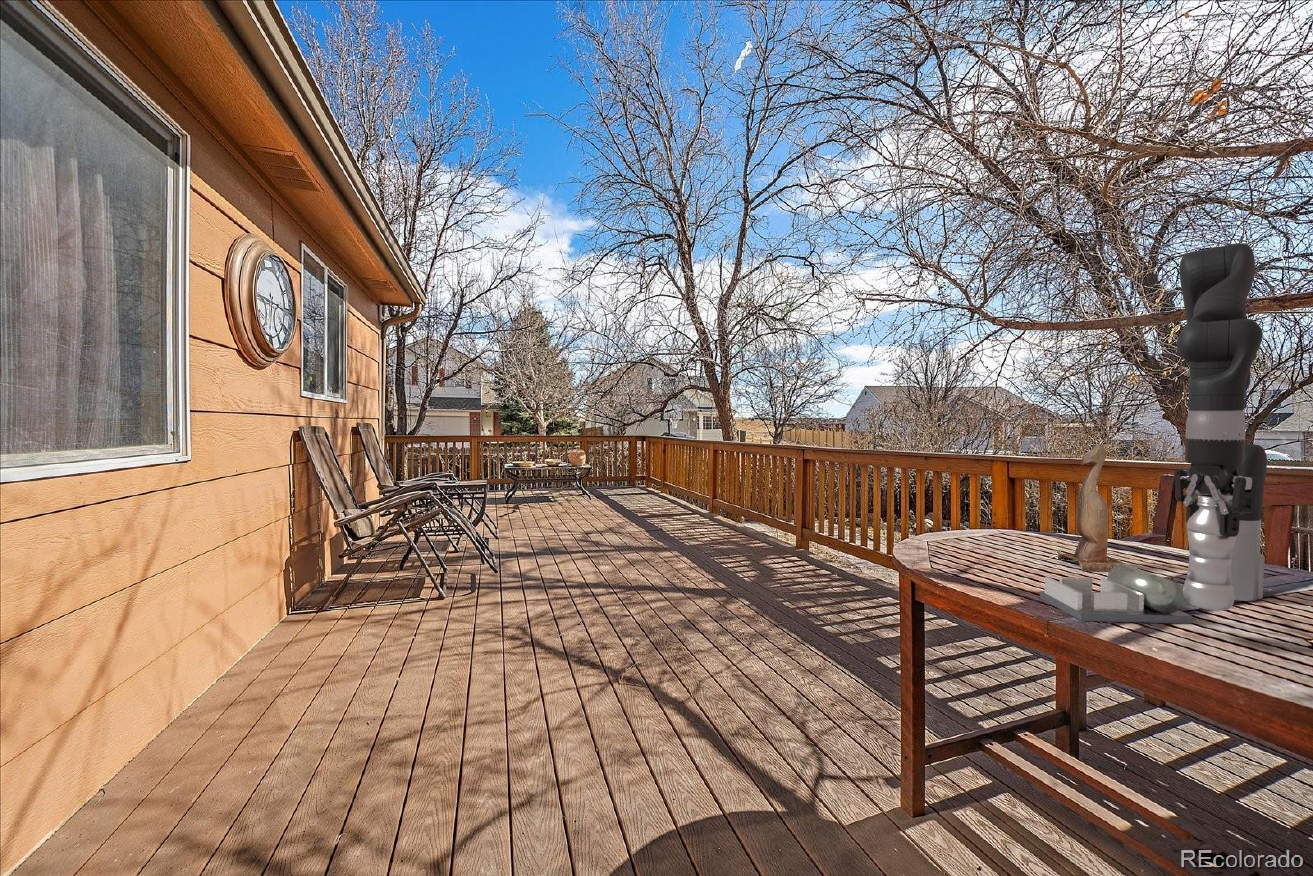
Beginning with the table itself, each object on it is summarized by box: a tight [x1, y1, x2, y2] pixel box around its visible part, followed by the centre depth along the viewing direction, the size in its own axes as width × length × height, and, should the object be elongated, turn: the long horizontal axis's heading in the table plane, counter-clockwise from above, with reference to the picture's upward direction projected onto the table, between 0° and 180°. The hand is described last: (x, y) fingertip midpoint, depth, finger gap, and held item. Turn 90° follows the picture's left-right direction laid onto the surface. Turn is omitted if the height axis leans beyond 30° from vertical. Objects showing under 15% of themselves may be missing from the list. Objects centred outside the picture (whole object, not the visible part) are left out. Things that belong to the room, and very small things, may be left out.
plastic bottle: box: [1182, 495, 1237, 611], centre depth 104 cm, size 6×7×20 cm
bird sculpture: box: [1057, 444, 1127, 573], centre depth 152 cm, size 11×12×32 cm
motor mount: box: [1039, 563, 1193, 625], centre depth 120 cm, size 20×14×8 cm
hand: (1210, 531), depth 103 cm, fingers closed on plastic bottle, 6 cm apart
